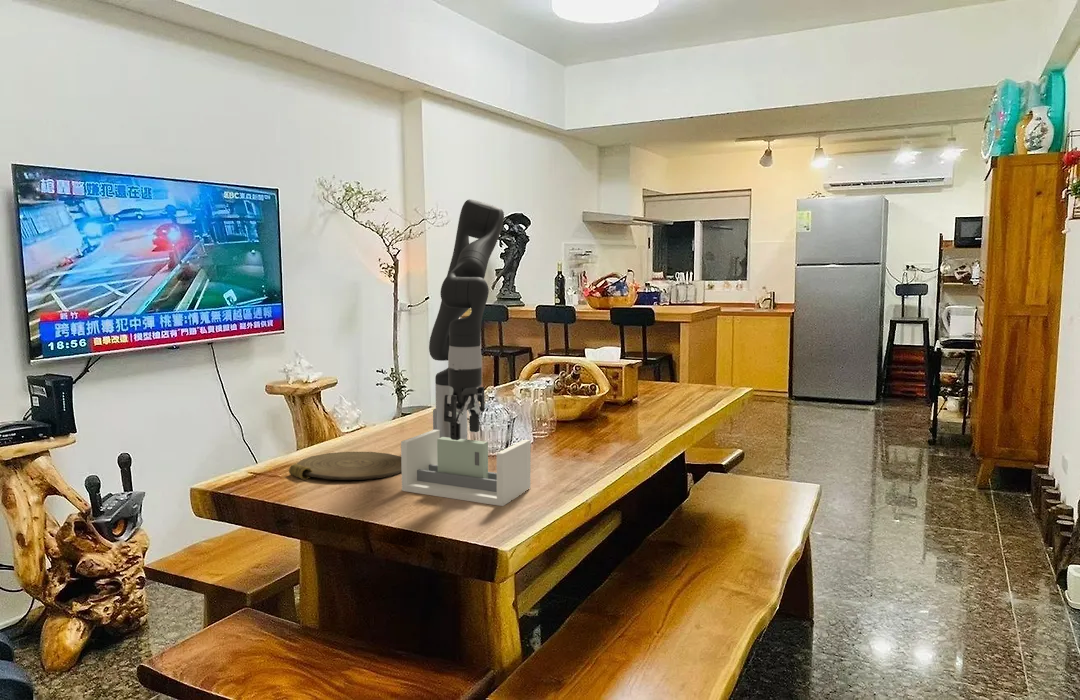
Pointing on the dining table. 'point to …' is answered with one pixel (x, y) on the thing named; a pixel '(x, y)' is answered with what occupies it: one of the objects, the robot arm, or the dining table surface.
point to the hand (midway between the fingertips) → (465, 435)
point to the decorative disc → (348, 466)
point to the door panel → (462, 457)
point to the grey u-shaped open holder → (492, 490)
